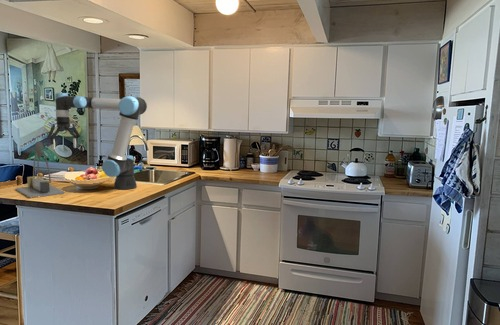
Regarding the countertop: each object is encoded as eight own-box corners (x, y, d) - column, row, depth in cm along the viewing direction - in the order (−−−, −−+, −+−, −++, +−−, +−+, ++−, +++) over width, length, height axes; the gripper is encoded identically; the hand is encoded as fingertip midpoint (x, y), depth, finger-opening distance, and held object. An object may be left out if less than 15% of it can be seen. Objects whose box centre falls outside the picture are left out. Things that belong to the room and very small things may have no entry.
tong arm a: (36, 186, 236) (36, 178, 235) (40, 186, 238) (39, 177, 237) (46, 192, 223) (45, 182, 222) (49, 191, 225) (49, 182, 224)
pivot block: (27, 187, 238) (27, 175, 237) (39, 186, 243) (38, 174, 242) (30, 188, 234) (29, 177, 233) (42, 187, 239) (41, 175, 238)
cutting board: (15, 189, 234) (15, 188, 234) (48, 186, 249) (48, 184, 249) (29, 198, 214) (29, 196, 214) (65, 193, 229) (65, 191, 228)
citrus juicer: (51, 182, 260) (49, 141, 256) (39, 185, 250) (37, 142, 246) (38, 181, 263) (36, 140, 259) (26, 184, 253) (24, 141, 249)
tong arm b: (32, 187, 234) (32, 178, 234) (36, 187, 236) (35, 178, 235) (42, 192, 222) (42, 182, 221) (46, 192, 223) (45, 182, 222)
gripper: (79, 116, 249) (80, 146, 252) (40, 116, 230) (42, 149, 233) (84, 116, 244) (85, 147, 247) (44, 116, 225) (46, 150, 228)
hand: (64, 148), depth 240 cm, fingers open, 13 cm apart
